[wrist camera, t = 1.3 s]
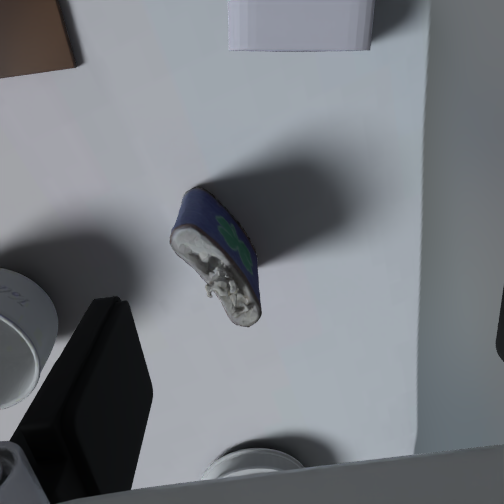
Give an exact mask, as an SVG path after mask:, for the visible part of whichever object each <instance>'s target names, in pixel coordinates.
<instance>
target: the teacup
mask: <svg viewBox="0 0 504 504" xmlns="http://www.w3.org/2000/svg"><path fill="white" fill-rule="evenodd" d="M57 333H58V316H57V312H56V309H55V307H54V304H53V302H52V301H51V299H50V298H49V296H48V295H47V294H46V292H45V291H44V290H43V289H42V288H41V287H40V286H38V285H37V284H36V283H35V282H33V281H32V280H30V279H29V278H27V277H25V276H23V275H21V274H19V273H17V272H14V271H11V270H7V269H3V268H0V410H1V409H5V408H8V407H11V406H13V405H15V404H17V403H19V402H21V401H22V400H23V399H25V398H26V397H28V396H29V394H30V393H31V392H32V391H33V390H34V388H35V387H36V385H37V383H38V380H39V377H40V373H41V371H42V369H43V367H44V365H45V363H46V361H47V359H48V357H49V355H50V353H51V351H52V348H53V346H54V344H55V341H56V337H57Z"/></svg>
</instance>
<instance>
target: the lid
mask: <svg viewBox="0 0 504 504" xmlns="http://www.w3.org/2000/svg"><path fill="white" fill-rule="evenodd" d="M299 468H304V466H303V465H302V464H301V463H300V462H299V461H298V460H297V459H295V458H294V457H292V456H290V455H289V454H286V453H284V452H281V451H278V450H273V449H268V448H249V449H243V450H238V451H235V452H232V453H229V454H227V455H225V456H223V457H221V458H219V459H218V460H216V461H215V462H214V463H213V464H211V465H210V467H209V468H208V469H207V470H206V472H205V473H204V475H203V477H202V480H210V479H218V478H226V477H234V476H242V475H250V474H258V473H267V472H275V471H283V470H291V469H299ZM202 480H201V481H202Z"/></svg>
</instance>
